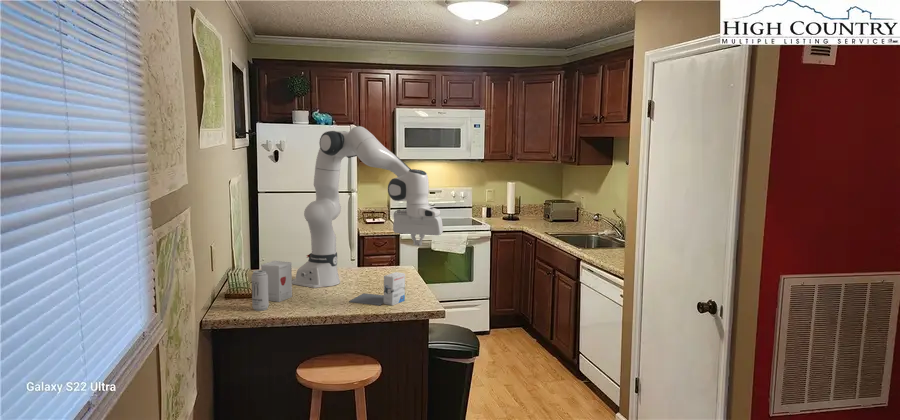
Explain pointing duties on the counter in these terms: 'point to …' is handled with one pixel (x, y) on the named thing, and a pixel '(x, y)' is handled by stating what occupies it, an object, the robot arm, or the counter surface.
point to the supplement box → (278, 280)
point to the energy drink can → (260, 290)
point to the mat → (369, 299)
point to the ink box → (394, 288)
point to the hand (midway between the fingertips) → (417, 245)
